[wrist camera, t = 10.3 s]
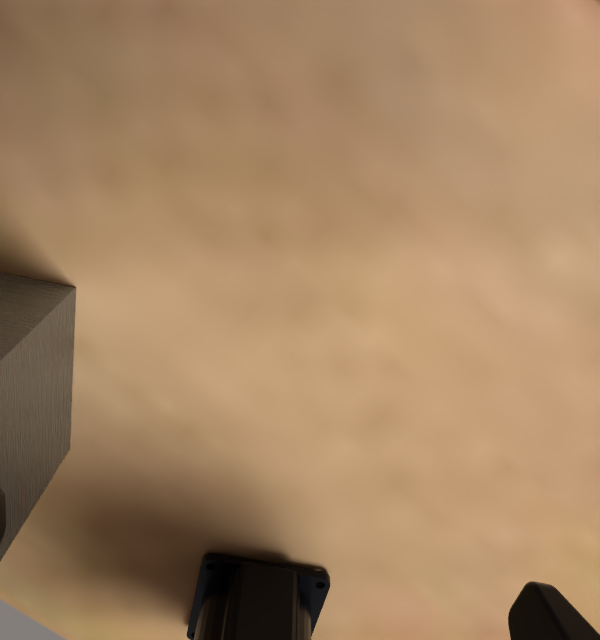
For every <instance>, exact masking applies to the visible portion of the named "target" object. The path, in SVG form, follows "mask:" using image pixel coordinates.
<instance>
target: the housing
mask: <svg viewBox="0 0 600 640" xmlns="http://www.w3.org/2000/svg"><path fill="white" fill-rule="evenodd" d="M75 297H76V288H75V287H70V286H65V285H60V284H55V283H51V282H46V281H41V280H36V279H31V278H26V277H22V276H17V275H12V274H7V273H2V272H0V489H3V491H4V492H5V496H6V530H5V534H4V536H3V539H2V541H1V543H0V561H1V560H2V558H3V556H4V555H5V553H6V551H7V550H8V548H9V547H10V545H11V543H12V542H13V540H14V538H15V537H16V535H17V534H18V532H19V530H20V529H21V527H22V526H23V524H24V522H25V521H26V519H27V517H28V516H29V514H30V513H31V511H32V509H33V508H34V506H35V505H36V503H37V501H38V500H39V498H40V496H41V495H42V493H43V492H44V490H45V488H46V487H47V485H48V484H49V482H50V480H51V479H52V477H53V475H54V474H55V472H56V471H57V469H58V467H59V466H60V464H61V463H62V461H63V459H64V458H65V456H66V454H67V453H68V451H69V450H70V427H71V401H72V375H73V349H74V323H75Z"/></svg>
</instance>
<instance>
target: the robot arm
mask: <svg viewBox="0 0 600 640" xmlns="http://www.w3.org/2000/svg"><path fill="white" fill-rule="evenodd" d="M5 530H6V496H5V492H4V491H3V489H0V543H1V541H2V539H3V536H4V534H5ZM329 588H330V576H329V575H328V574H327V573H326V572H322V571H316V570H311V569H305V568H299V567H293V566H287V565H281V564H275V563H269V562H264V561H258V560H252V559H246V558H240V557H234V556H228V555H222V554H216V553H208V554H206V555H204V556H203V558H202V563H201V568H200V573H199V577H198V582H197V587H196V592H195V597H194V602H193V606H192V611H191V616H190V621H189V626H188V631H187V637H188V638H189V639H190V640H311V636H312V633H313V631H314V628H315V625H316V623H317V620H318V617H319V615H320V612H321V609H322V607H323V604H324V601H325V599H326V596H327V593H328V591H329ZM508 624H509V631H510V637H511V640H600V635H599V633H598V632H597V631H596V630H595V629H594V628H593V627H592V626H591V625H590V624H589V623H588V622H587V621H586V620H585V619H584V618H583V616H582V615H581V614H580V613H579V612H578V611H577V610H576V609H575V608H574V607H573V606H572V605H571V604H570V603H569V602H568V600H567V599H566V598H565V597H564V596H563V595H562V594H561V593H560V592H559V591H558V590H557V589H556V588H555V587H553V586H552V585H549V584H545V583H539V582H528V583H527V584H526V585H525V586H524V588H523V589H522V591H521V592H520V594H519V596H518V597H517V599H516V600H515V602H514V604H513V605H512V607H511V609H510V612H509V616H508Z"/></svg>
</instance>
